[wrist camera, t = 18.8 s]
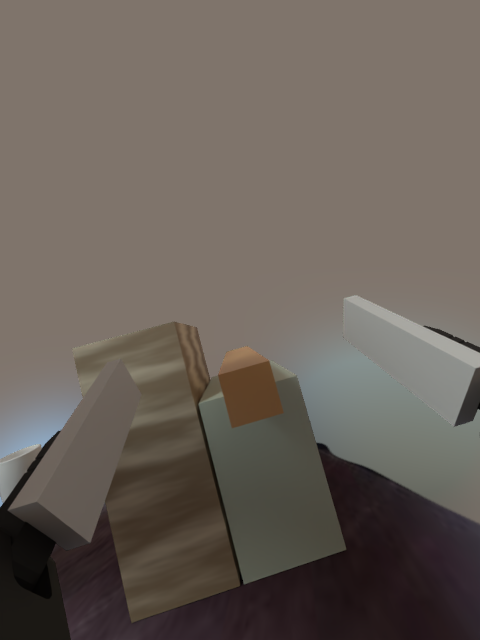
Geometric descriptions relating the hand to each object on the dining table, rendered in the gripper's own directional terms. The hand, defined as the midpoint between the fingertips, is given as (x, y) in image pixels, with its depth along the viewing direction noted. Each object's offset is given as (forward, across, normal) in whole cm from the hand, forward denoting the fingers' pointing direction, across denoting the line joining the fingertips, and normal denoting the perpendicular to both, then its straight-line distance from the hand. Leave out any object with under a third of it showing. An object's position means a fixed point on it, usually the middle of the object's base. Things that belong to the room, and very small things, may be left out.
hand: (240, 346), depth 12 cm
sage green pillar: (+5, 0, -33) cm, 33 cm away
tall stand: (+5, -12, -33) cm, 35 cm away
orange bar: (+11, 0, -13) cm, 17 cm away
